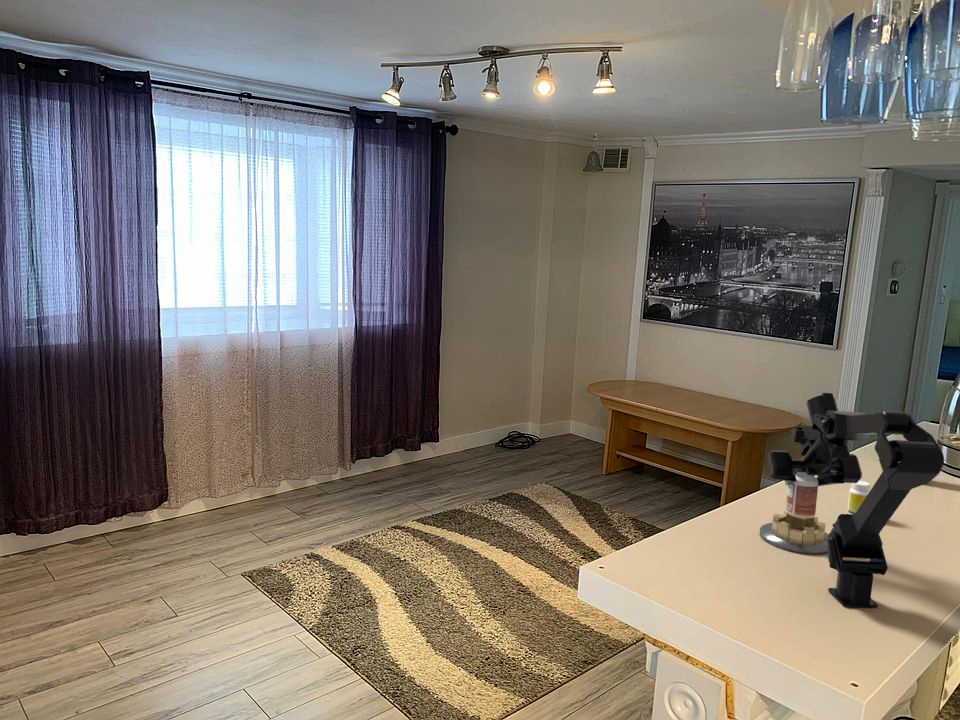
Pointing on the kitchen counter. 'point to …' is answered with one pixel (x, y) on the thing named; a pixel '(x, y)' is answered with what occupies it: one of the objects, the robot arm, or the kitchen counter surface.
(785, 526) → the crown on disc
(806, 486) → the pill bottle
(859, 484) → the supplement bottle
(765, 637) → the kitchen counter surface
